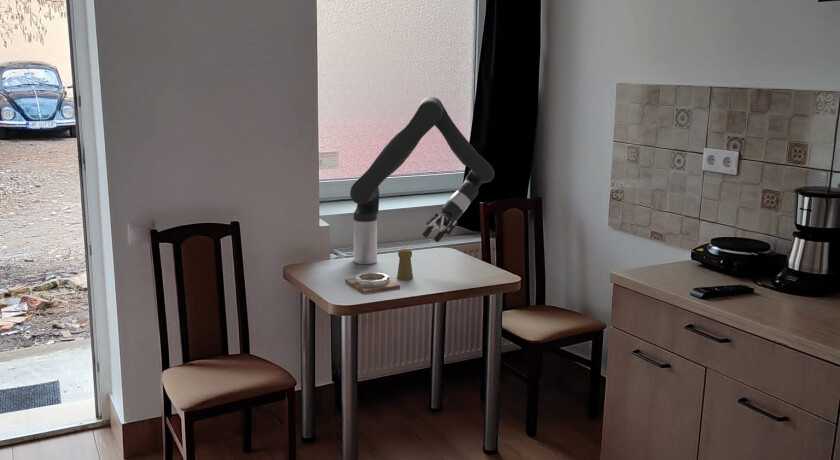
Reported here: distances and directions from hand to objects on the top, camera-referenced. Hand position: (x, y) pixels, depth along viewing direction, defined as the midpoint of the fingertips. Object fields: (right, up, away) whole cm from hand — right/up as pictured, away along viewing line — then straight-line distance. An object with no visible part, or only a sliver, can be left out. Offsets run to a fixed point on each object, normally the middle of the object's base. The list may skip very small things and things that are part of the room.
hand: (429, 238), depth 290 cm
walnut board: (-21, -17, -12) cm, 29 cm away
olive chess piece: (-9, -15, -2) cm, 18 cm away
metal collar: (-21, -15, -12) cm, 29 cm away
